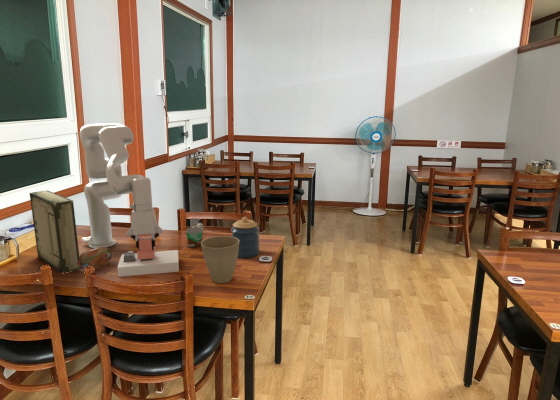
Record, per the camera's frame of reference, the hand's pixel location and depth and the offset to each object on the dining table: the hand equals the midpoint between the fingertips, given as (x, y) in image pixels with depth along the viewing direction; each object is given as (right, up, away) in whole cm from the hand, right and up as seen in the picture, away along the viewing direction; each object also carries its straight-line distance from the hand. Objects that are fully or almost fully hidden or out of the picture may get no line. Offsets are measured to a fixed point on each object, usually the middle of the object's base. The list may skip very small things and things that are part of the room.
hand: (146, 248), depth 186 cm
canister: (+41, -5, +18) cm, 45 cm away
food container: (+16, -2, +31) cm, 35 cm away
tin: (-22, -9, +2) cm, 24 cm away
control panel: (-41, -7, +7) cm, 42 cm away
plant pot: (+34, -11, -11) cm, 37 cm away
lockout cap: (0, -3, +1) cm, 3 cm away
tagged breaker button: (0, -8, +2) cm, 8 cm away
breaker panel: (+1, -8, +2) cm, 9 cm away
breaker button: (-7, -7, 0) cm, 10 cm away
